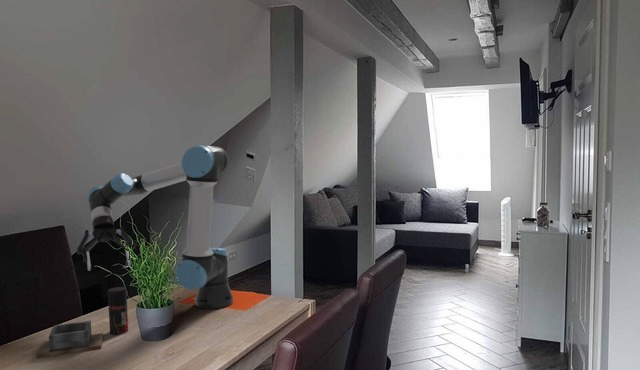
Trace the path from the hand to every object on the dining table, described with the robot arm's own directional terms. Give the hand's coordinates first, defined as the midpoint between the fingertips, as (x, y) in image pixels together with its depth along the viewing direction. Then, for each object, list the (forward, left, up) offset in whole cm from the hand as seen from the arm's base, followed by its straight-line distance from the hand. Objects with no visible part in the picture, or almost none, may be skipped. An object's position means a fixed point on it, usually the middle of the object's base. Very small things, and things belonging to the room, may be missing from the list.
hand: (110, 266), depth 177 cm
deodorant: (-2, +11, -21) cm, 24 cm away
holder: (+12, +19, -21) cm, 31 cm away
